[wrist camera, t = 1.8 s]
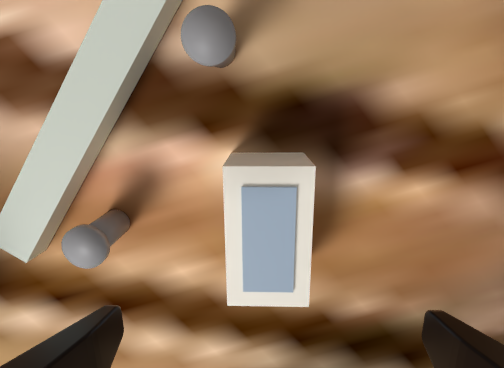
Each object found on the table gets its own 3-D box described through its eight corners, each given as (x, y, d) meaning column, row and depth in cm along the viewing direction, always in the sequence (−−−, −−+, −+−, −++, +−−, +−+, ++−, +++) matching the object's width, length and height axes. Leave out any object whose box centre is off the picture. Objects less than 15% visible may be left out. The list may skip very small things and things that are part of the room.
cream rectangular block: (231, 152, 17) (222, 167, 13) (303, 151, 17) (316, 167, 13) (234, 263, 18) (227, 307, 14) (298, 264, 18) (309, 308, 14)
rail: (286, -15, 14) (293, -50, 11) (101, 282, 19) (67, 319, 16) (174, -101, 14) (147, -167, 10) (10, 229, 18) (-45, 256, 15)
